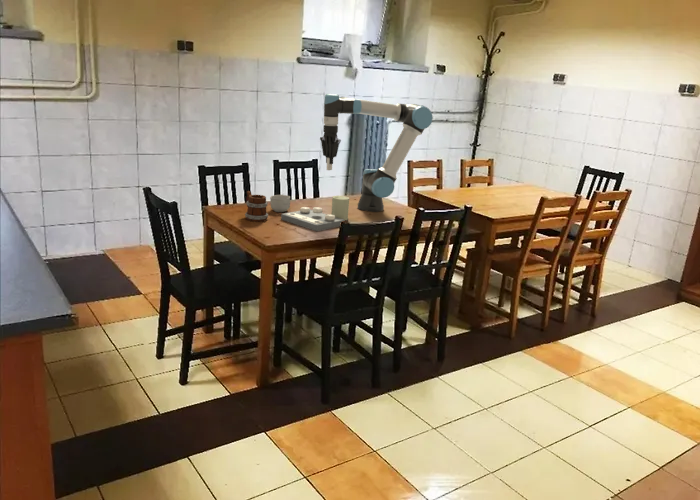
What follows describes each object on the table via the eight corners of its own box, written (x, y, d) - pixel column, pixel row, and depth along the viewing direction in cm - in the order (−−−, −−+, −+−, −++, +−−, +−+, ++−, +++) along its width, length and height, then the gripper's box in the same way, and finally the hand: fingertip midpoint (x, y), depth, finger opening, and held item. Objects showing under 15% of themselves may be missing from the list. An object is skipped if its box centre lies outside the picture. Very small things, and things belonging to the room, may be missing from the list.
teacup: (286, 214, 316) (286, 199, 314) (266, 211, 318) (267, 197, 316) (293, 208, 329) (294, 194, 327) (275, 206, 331) (275, 192, 329)
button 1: (305, 210, 314) (305, 206, 314) (311, 212, 311) (312, 208, 311) (298, 211, 311) (298, 207, 310) (304, 213, 308) (305, 209, 307)
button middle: (317, 210, 308) (317, 206, 308) (324, 212, 305) (324, 208, 305) (310, 211, 305) (310, 208, 304) (317, 213, 302) (317, 210, 301)
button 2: (329, 217, 303) (329, 213, 303) (336, 219, 300) (337, 216, 300) (322, 219, 300) (323, 215, 299) (329, 221, 297) (330, 217, 296)
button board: (308, 214, 320) (309, 208, 319) (344, 225, 303) (344, 219, 302) (281, 219, 305) (281, 213, 304) (316, 231, 289) (317, 224, 288)
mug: (253, 223, 294) (251, 192, 291) (238, 221, 304) (236, 191, 302) (273, 220, 301) (271, 190, 299) (258, 218, 312) (256, 190, 309)
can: (328, 216, 318) (329, 194, 315) (344, 216, 322) (345, 194, 318) (334, 221, 310) (336, 198, 307) (350, 220, 314) (352, 198, 310)
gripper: (316, 124, 310) (315, 168, 317) (335, 126, 302) (333, 172, 309) (326, 123, 315) (325, 167, 323) (344, 125, 308) (343, 170, 315)
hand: (329, 169), depth 316 cm, fingers closed
